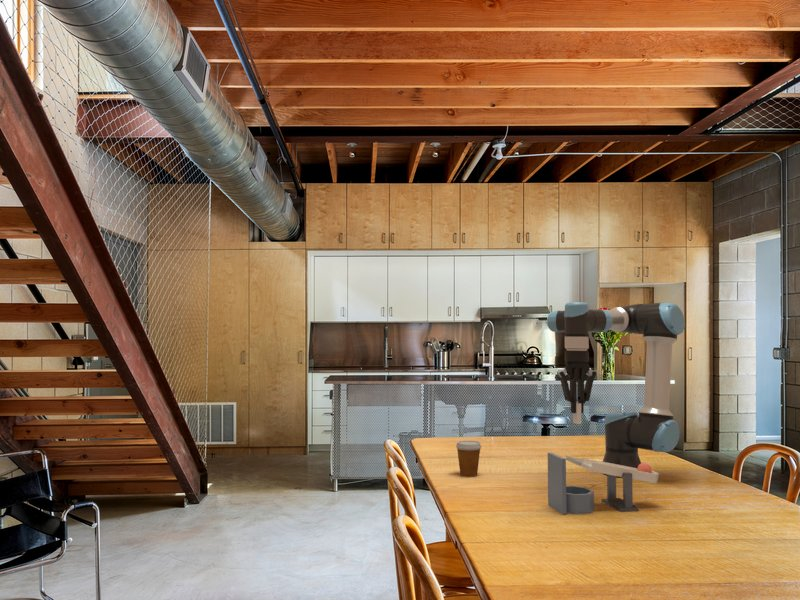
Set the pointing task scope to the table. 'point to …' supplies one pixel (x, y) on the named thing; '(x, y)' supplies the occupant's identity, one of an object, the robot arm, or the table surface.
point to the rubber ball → (644, 467)
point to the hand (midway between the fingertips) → (577, 423)
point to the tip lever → (614, 469)
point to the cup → (566, 490)
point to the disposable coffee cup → (468, 457)
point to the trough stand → (627, 500)
